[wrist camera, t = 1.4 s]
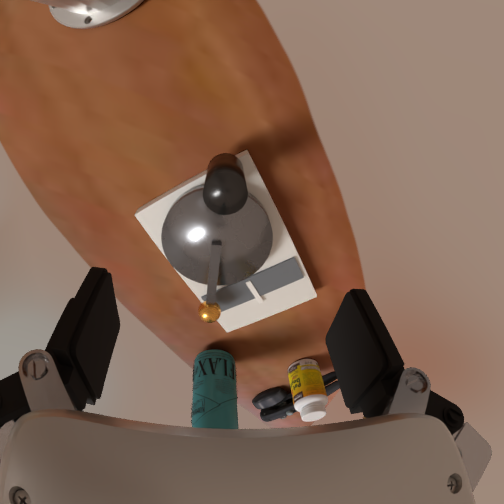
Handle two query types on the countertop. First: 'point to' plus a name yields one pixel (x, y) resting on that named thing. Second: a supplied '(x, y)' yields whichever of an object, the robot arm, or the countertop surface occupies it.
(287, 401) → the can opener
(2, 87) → the countertop surface
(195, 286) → the stand
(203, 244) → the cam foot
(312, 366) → the supplement bottle
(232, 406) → the beverage bottle
